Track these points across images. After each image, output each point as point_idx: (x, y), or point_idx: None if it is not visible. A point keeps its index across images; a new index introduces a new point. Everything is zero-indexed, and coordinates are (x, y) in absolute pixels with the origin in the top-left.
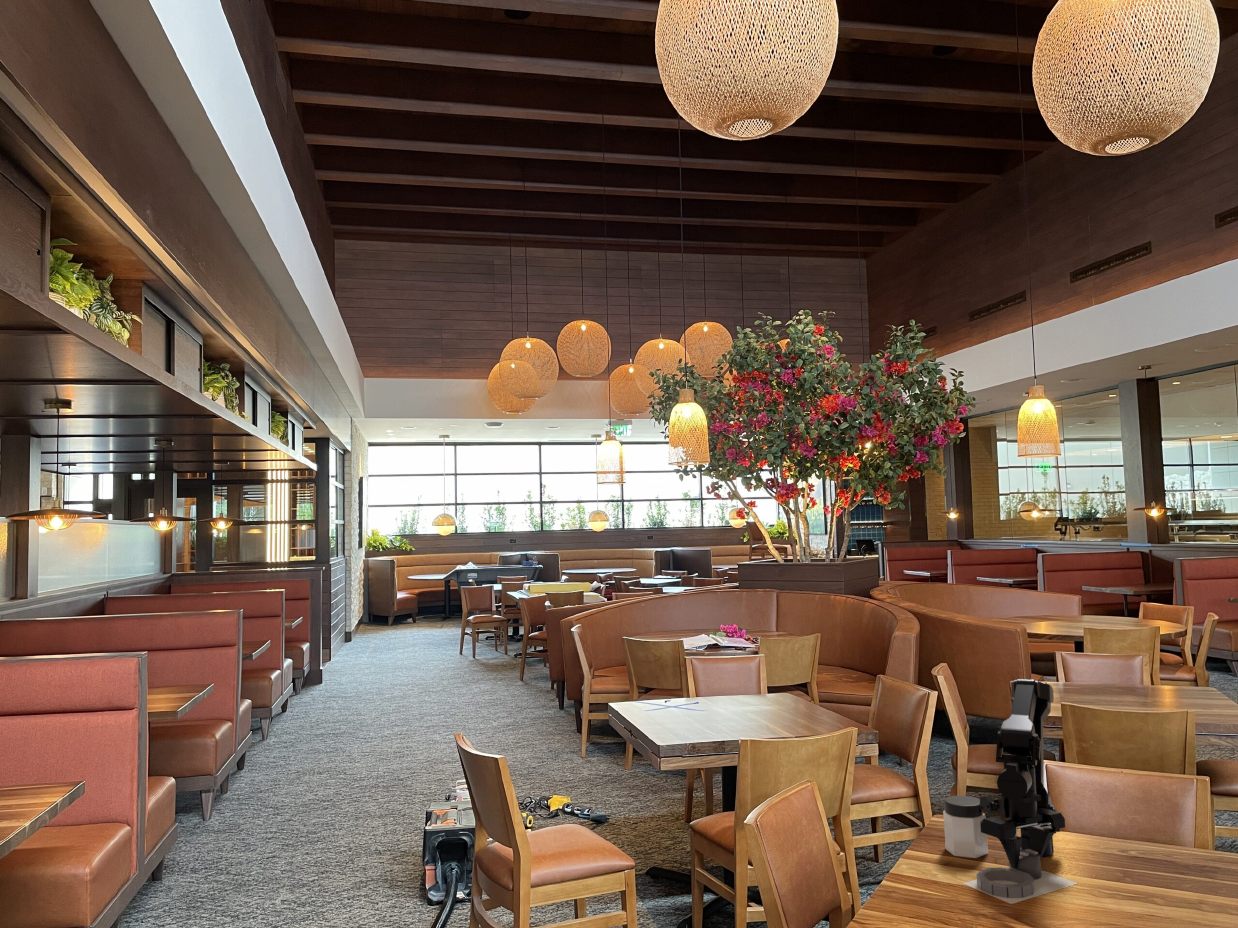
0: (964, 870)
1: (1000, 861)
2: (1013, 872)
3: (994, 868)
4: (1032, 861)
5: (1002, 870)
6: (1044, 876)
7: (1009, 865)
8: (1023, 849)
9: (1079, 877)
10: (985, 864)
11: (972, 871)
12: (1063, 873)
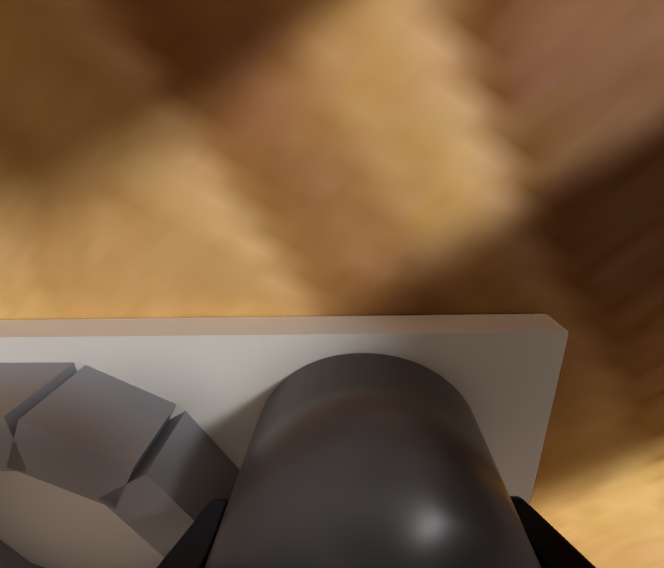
0: (45, 26)
1: (553, 19)
2: (163, 545)
3: (51, 446)
4: None
5: (98, 495)
6: None
7: (266, 426)
8: (521, 564)
9: (658, 536)
10: (348, 3)
11: (105, 93)
12: (659, 465)
